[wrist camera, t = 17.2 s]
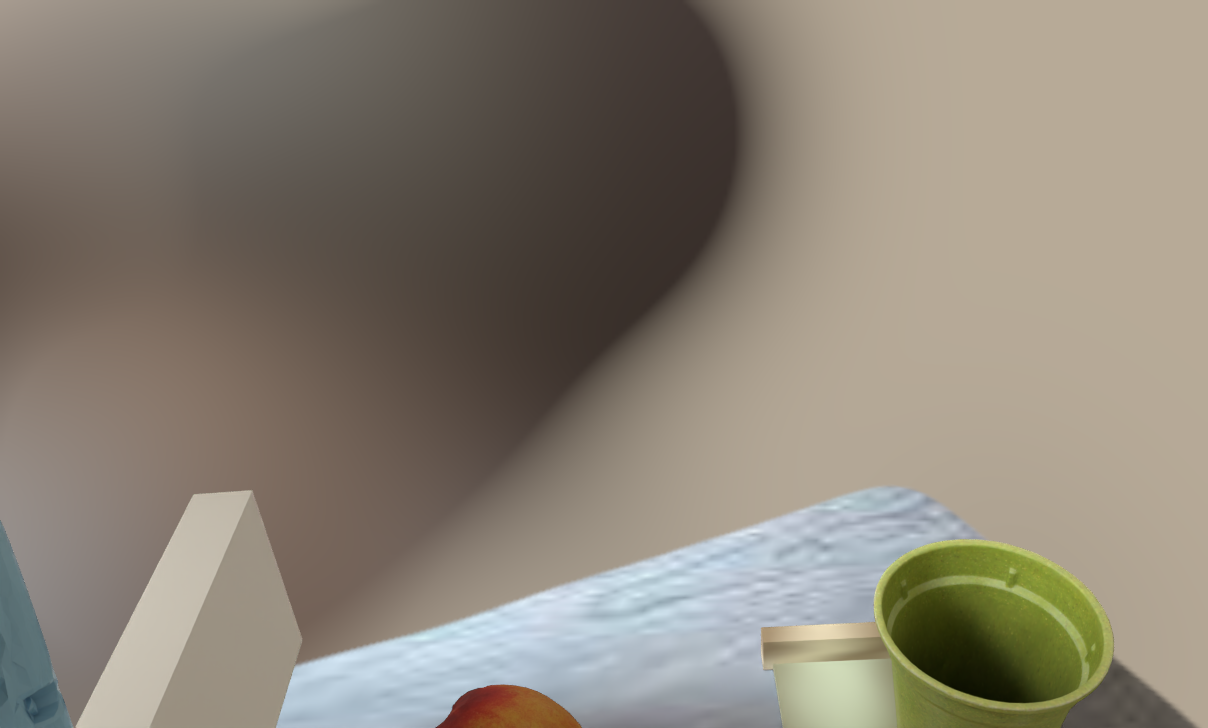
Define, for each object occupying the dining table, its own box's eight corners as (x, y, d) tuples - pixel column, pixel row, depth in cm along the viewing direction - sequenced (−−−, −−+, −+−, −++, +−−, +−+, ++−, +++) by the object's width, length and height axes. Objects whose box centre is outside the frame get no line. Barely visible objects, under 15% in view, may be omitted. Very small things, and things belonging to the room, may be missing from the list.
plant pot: (1098, 717, 47) (1134, 581, 43) (1051, 885, 41) (1087, 745, 36) (902, 645, 52) (915, 515, 48) (832, 784, 46) (839, 650, 41)
